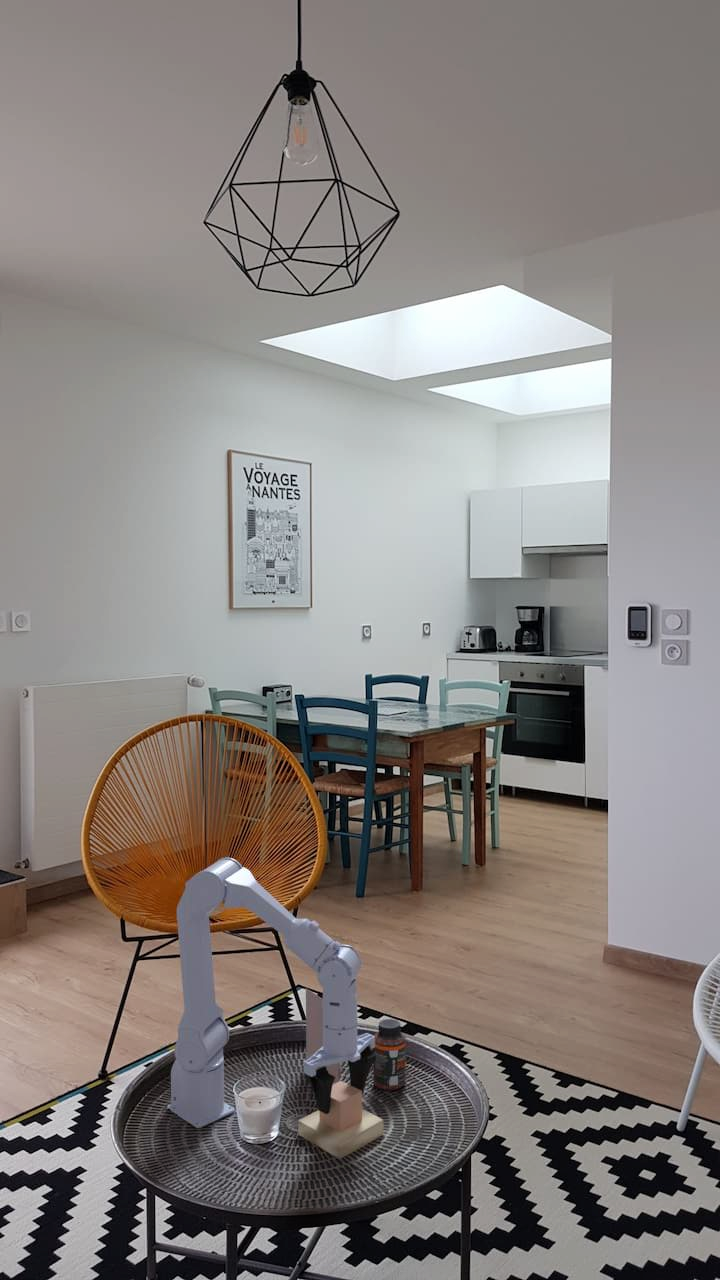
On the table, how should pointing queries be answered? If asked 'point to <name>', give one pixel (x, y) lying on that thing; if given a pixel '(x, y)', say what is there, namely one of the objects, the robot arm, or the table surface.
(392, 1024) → the supplement bottle
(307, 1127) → the birch block
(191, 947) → the robot arm
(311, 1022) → the greeting card
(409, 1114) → the table surface
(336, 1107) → the terracotta cube
